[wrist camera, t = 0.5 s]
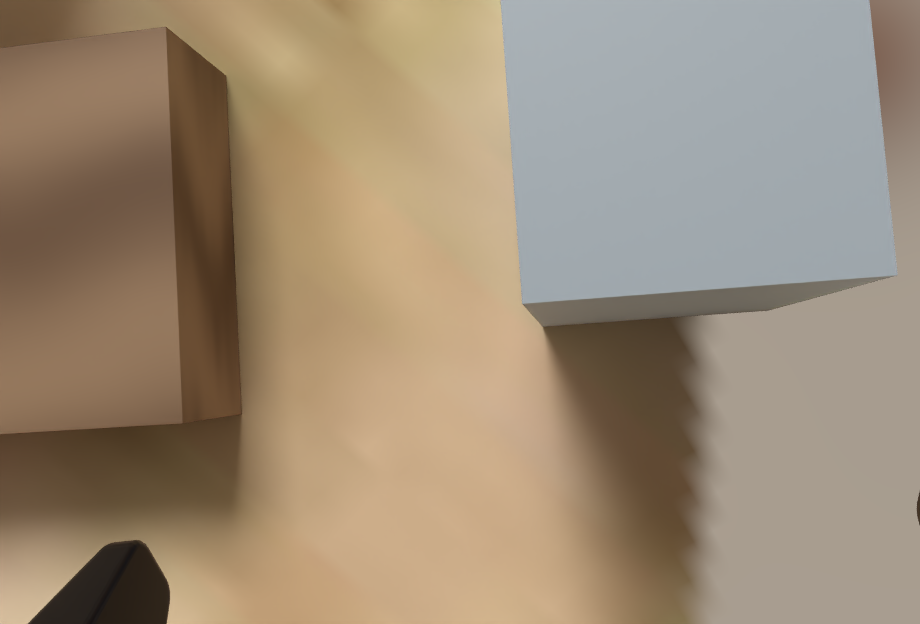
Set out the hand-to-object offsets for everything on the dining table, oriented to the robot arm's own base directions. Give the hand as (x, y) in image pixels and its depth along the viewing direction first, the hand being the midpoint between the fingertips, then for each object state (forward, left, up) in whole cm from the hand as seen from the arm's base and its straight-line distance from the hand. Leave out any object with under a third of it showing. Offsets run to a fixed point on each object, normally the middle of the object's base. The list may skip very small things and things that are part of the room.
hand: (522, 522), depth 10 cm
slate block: (+4, -5, -13) cm, 15 cm away
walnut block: (+12, +9, -14) cm, 20 cm away
